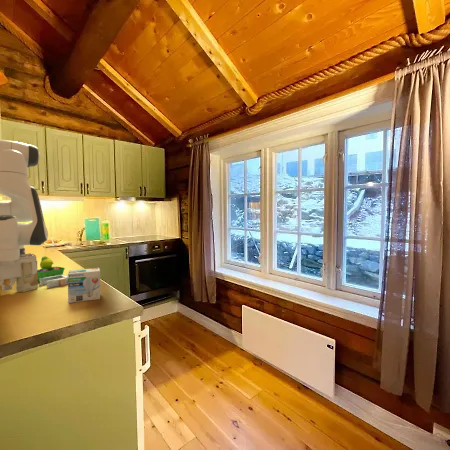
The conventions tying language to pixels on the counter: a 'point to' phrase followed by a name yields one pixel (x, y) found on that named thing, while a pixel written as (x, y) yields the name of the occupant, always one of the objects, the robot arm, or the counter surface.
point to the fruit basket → (48, 269)
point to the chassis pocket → (54, 281)
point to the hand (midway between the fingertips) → (7, 290)
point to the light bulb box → (83, 285)
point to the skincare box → (26, 278)
